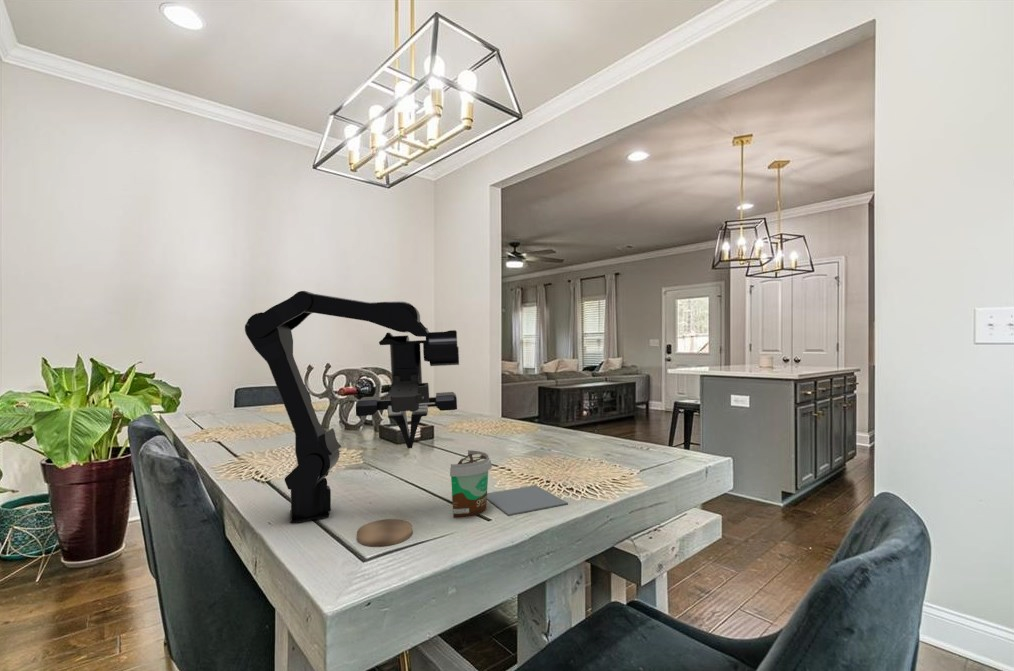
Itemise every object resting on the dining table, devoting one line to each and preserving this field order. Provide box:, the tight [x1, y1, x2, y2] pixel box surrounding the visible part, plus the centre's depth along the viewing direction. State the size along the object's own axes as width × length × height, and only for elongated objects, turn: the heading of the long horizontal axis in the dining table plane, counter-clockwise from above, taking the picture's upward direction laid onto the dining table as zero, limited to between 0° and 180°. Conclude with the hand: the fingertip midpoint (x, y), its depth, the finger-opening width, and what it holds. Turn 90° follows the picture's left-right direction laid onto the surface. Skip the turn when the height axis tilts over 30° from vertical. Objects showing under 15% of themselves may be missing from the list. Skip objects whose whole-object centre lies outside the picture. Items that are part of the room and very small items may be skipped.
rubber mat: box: [487, 484, 569, 517], centre depth 95 cm, size 13×13×1 cm
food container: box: [449, 449, 493, 519], centre depth 90 cm, size 12×6×10 cm, turn 168°
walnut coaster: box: [356, 518, 413, 547], centre depth 79 cm, size 9×9×1 cm
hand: (410, 447), depth 91 cm, fingers closed
